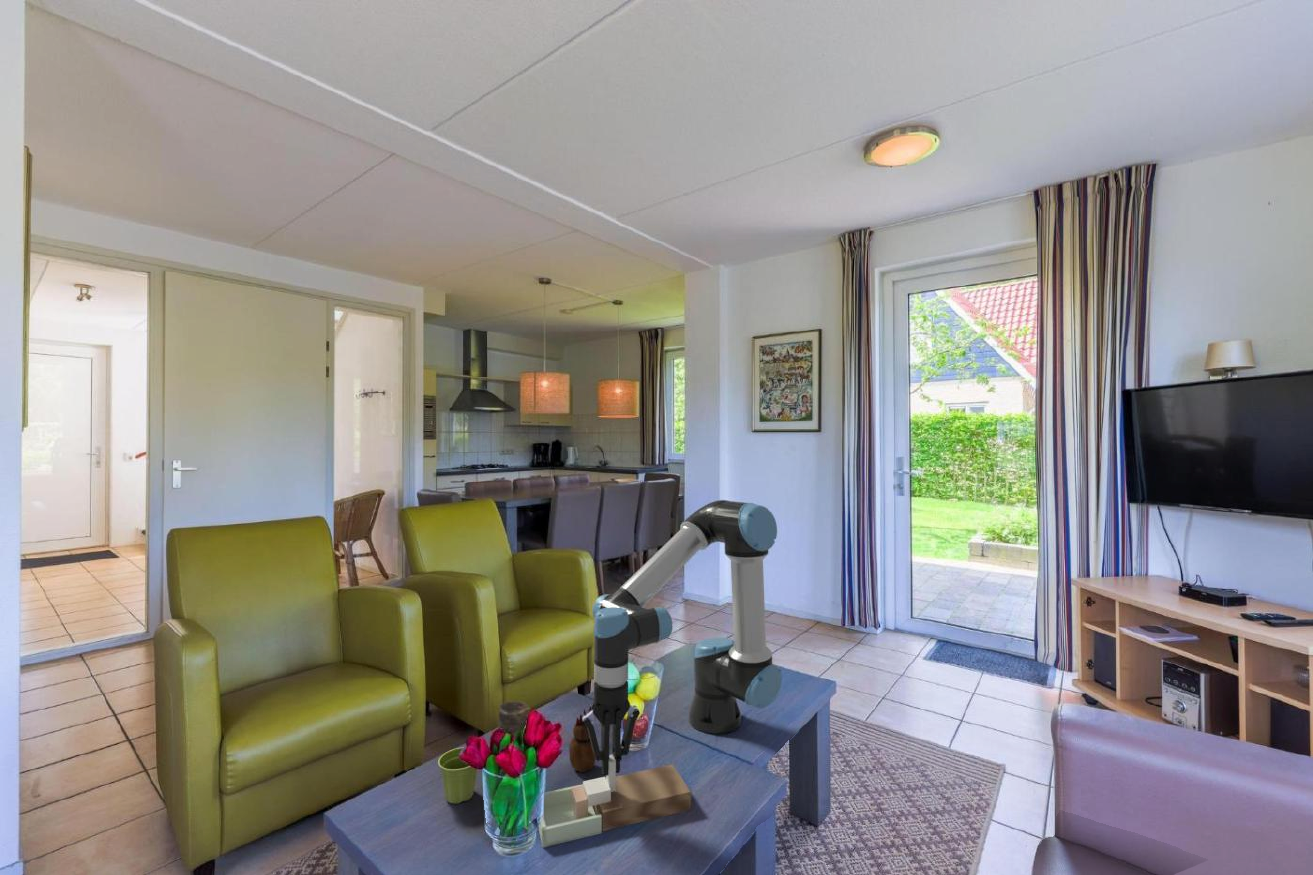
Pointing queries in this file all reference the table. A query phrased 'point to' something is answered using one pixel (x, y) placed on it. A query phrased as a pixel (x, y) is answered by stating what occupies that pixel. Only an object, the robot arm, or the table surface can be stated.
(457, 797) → the plant pot
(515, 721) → the candle
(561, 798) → the tray
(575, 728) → the wooden figurine
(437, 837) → the table surface
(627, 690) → the robot arm
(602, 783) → the tile
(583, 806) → the tile
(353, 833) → the table surface
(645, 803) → the brown box sleeve
